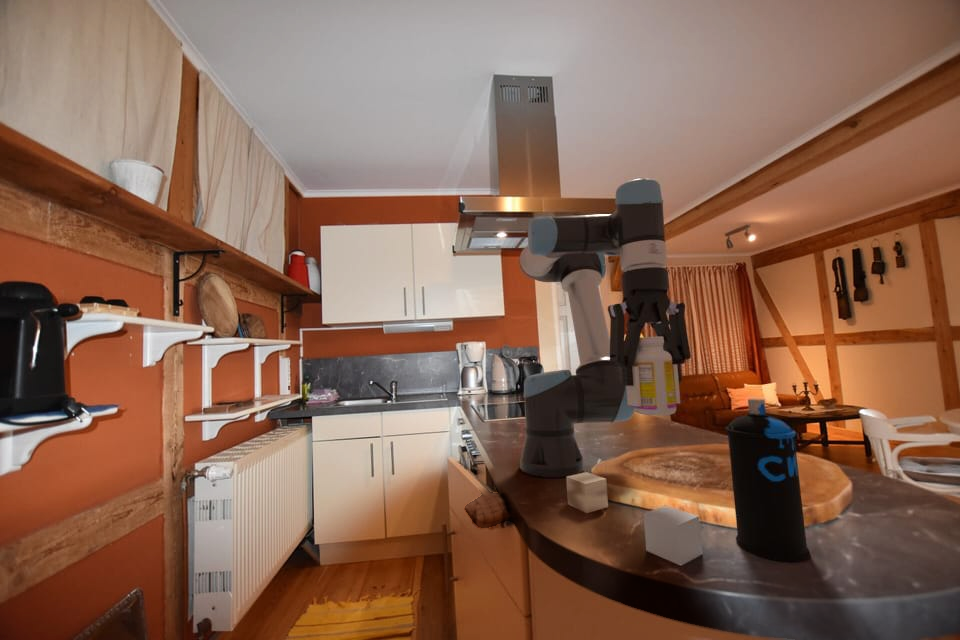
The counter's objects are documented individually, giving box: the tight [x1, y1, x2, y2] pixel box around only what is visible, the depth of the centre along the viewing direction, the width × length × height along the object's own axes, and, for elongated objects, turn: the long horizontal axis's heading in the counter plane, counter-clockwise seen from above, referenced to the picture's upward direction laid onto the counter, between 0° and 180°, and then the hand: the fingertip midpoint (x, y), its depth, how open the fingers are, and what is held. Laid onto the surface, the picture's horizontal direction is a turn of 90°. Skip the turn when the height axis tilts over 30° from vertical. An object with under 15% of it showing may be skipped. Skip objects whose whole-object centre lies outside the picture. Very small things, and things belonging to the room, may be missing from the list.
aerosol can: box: [724, 398, 811, 563], centre depth 55 cm, size 8×8×20 cm
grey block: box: [643, 505, 703, 566], centre depth 54 cm, size 5×5×5 cm
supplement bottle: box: [633, 336, 677, 416], centre depth 68 cm, size 7×7×13 cm
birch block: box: [565, 471, 609, 514], centre depth 72 cm, size 5×5×5 cm
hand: (653, 403), depth 67 cm, fingers closed on supplement bottle, 7 cm apart
